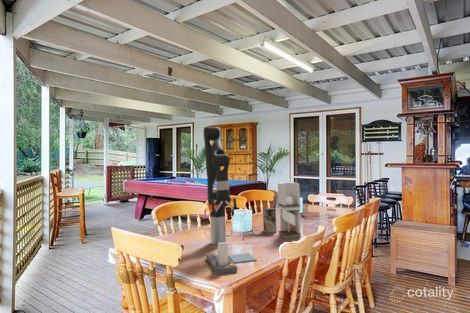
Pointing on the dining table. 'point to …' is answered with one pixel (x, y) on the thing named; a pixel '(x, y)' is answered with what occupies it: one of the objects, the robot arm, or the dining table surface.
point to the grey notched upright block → (289, 209)
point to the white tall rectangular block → (222, 253)
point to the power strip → (220, 269)
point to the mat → (242, 258)
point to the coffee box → (269, 219)
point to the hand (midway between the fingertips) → (224, 217)
